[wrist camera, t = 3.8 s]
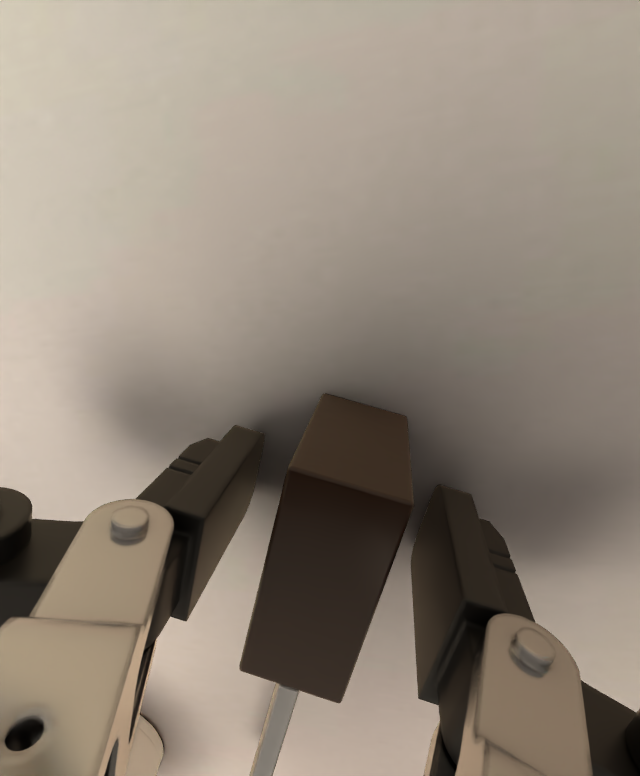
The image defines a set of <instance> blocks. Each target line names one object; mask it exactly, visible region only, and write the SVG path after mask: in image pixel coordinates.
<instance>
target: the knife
mask: <svg viewBox="0 0 640 776" xmlns="http://www.w3.org/2000/svg"><path fill="white" fill-rule="evenodd" d="M413 507H414V499H413V487H412V474H411V461H410V448H409V436H408V423H407V417H406V416H403V415H400V414H396V413H393V412H389V411H386V410H382V409H379V408H375V407H371V406H368V405H364V404H361V403H357V402H354V401H350V400H347V399H343V398H340V397H336V396H332V395H329V394H323V395H322V396H321V398H320V400H319V402H318V405H317V407H316V409H315V411H314V413H313V415H312V417H311V419H310V421H309V424H308V426H307V428H306V430H305V432H304V434H303V436H302V438H301V441H300V443H299V445H298V447H297V449H296V451H295V453H294V455H293V458H292V460H291V462H290V464H289V466H288V468H287V472H286V476H285V481H284V485H283V489H282V493H281V497H280V501H279V505H278V509H277V513H276V518H275V522H274V526H273V530H272V534H271V538H270V542H269V546H268V551H267V555H266V559H265V563H264V567H263V571H262V575H261V579H260V583H259V588H258V592H257V596H256V600H255V604H254V608H253V612H252V616H251V620H250V625H249V629H248V633H247V637H246V641H245V645H244V649H243V653H242V657H241V662H240V670H241V671H243V672H246V673H249V674H252V675H255V676H258V677H261V678H264V679H267V680H270V681H273V682H276V685H275V689H274V692H273V696H272V699H271V703H270V706H269V710H268V713H267V717H266V720H265V723H264V727H263V730H262V734H261V737H260V741H259V744H258V748H257V751H256V755H255V758H254V762H253V765H252V768H251V772H250V776H272V775H273V772H274V769H275V766H276V763H277V760H278V756H279V753H280V750H281V747H282V744H283V741H284V737H285V734H286V731H287V728H288V725H289V722H290V719H291V715H292V712H293V709H294V706H295V703H296V700H297V697H298V693H299V690H300V691H303V692H306V693H309V694H312V695H315V696H318V697H321V698H324V699H327V700H330V701H333V702H336V703H340V702H341V701H342V699H343V696H344V694H345V691H346V688H347V686H348V683H349V680H350V677H351V675H352V672H353V669H354V667H355V664H356V661H357V659H358V656H359V653H360V650H361V648H362V645H363V642H364V640H365V637H366V634H367V631H368V629H369V626H370V623H371V621H372V618H373V615H374V613H375V610H376V607H377V604H378V602H379V599H380V596H381V594H382V591H383V588H384V585H385V583H386V580H387V577H388V575H389V572H390V569H391V567H392V564H393V561H394V558H395V556H396V553H397V550H398V548H399V545H400V542H401V539H402V537H403V534H404V531H405V529H406V526H407V523H408V521H409V518H410V515H411V512H412V510H413Z"/></svg>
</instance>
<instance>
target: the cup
mask: <svg viewBox="0 0 640 776" xmlns="http://www.w3.org/2000/svg"><path fill="white" fill-rule="evenodd" d="M162 757H163V744H162V741H161V739H160V736H159V735H158V733H157V731H156V730H155V729H154V728H153V726H152V725H151V724H150V723H149V722H148V721H147V720H146V719H145V718H143V717H142V716H141V715H139V718H138V722H137V726H136V730H135V734H134V738H133V743H132V747H131V751H130V755H129V759H128V764H127V768H126V773H125V776H156V775H157V772H158V768H159V765H160V762H161V760H162Z"/></svg>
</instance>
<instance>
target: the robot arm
mask: <svg viewBox="0 0 640 776" xmlns="http://www.w3.org/2000/svg"><path fill="white" fill-rule="evenodd" d="M264 440H265V434H264V433H261V432H258V431H254V430H251V429H248V428H244V427H241V426H237V425H235V426H233V428H232V429H231V430H230V431H229V432H228V433H227V434H226V436H225V437H224V438H223V439H222V440H221V441H216V440H213V439H209V438H207V439H204V440H202V441H199V442H196V443H194V444H191V445H190V446H189V447H188V448H187V449H186V450H185V451H184V452H183V453H182V454H181V455H180V456H179V458H176V459H175V460H174V461H173V462H172V463H171V464H170V466H169V468H166V469H165V470H164V471H163V472H162V473H161V474H160V475H159V476H158V477H157V478H156V479H155V480H154V481H153V482H152V483H151V484H150V485H149V486H148V487H147V488H146V489H145V490H144V491H143V492H142V493H141V494H140V495H139V496H138V497H137V498H136V499H125V500H118V501H114V502H110V503H107V504H104V505H102V506H100V507H98V508H97V509H95V510H94V511H92V512H91V513H90V514H89V515H88V516H87V518H86V519H85V520H84V521H82V522H71V521H56V520H40V519H32V504H31V501H30V500H29V498H28V497H27V496H25V495H24V494H22V493H21V492H19V491H16V490H13V489H8V488H2V487H0V776H125V773H126V768H127V764H128V759H129V755H130V751H131V747H132V743H133V738H134V734H135V730H136V726H137V722H138V718H139V714H140V710H141V706H142V702H143V698H144V694H145V690H146V685H147V681H148V677H149V673H150V669H151V665H152V661H153V657H154V653H155V649H156V642H157V637H158V636H159V634H160V633H161V631H162V629H163V628H164V626H165V624H166V623H167V621H168V619H169V618H170V616H171V617H174V618H177V619H180V620H183V621H187V619H188V618H189V616H190V614H191V612H192V610H193V608H194V607H195V605H196V603H197V601H198V599H199V597H200V596H201V594H202V592H203V590H204V588H205V587H206V585H207V583H208V581H209V579H210V577H211V576H212V574H213V572H214V570H215V568H216V566H217V565H218V563H219V561H220V559H221V557H222V555H223V554H224V552H225V550H226V548H227V546H228V544H229V543H230V541H231V539H232V537H233V535H234V534H235V532H236V530H237V528H238V526H239V524H240V523H241V521H242V519H243V517H244V515H245V513H246V511H247V509H248V506H249V504H250V501H251V498H252V495H253V491H254V487H255V482H256V478H257V473H258V469H259V464H260V459H261V455H262V450H263V446H264ZM515 571H516V570H515V567H514V564H513V562H512V559H510V554H509V551H508V548H507V546H506V543H505V540H504V538H503V537H502V536H501V535H500V534H499V532H498V531H497V530H496V529H495V528H494V527H493V525H492V524H491V523H490V522H489V521H486V520H482V519H479V517H478V514H477V511H476V508H475V504H474V501H473V498H472V495H471V494H469V493H466V492H462V491H459V490H455V489H452V488H449V487H445V486H442V485H438V486H437V487H436V488H435V490H434V492H433V494H432V497H431V500H430V502H429V505H428V507H427V510H426V513H425V515H424V518H423V520H422V523H421V526H420V528H419V531H418V534H417V536H416V539H415V542H414V546H413V551H412V557H411V575H412V593H413V611H414V629H415V647H416V664H417V682H418V699H421V700H424V701H427V702H430V703H433V704H436V705H439V714H440V721H439V723H438V725H437V727H436V729H435V731H434V733H433V736H432V739H431V743H430V748H429V752H428V757H427V762H426V767H425V771H424V776H640V709H639V711H638V712H637V713H636V712H634V711H633V710H631V709H629V708H627V707H626V706H624V705H622V704H620V703H619V702H617V701H615V700H613V699H612V698H610V697H608V696H606V695H605V694H603V693H601V692H599V691H598V690H596V689H594V688H592V687H591V686H589V685H588V684H586V683H584V682H583V681H582V680H581V678H580V673H579V669H578V667H577V665H576V662H575V661H574V659H573V657H572V656H571V654H570V653H569V651H568V650H567V649H566V648H565V646H564V645H563V644H562V643H561V642H560V641H559V640H558V639H557V638H556V637H555V636H554V635H552V634H551V633H550V632H549V631H547V630H546V629H545V628H543V627H542V626H540V625H539V624H537V623H535V620H534V618H533V615H532V612H531V610H530V607H529V604H528V602H527V599H526V596H525V594H524V591H523V588H522V586H521V583H520V580H519V578H518V575H517V574H515Z"/></svg>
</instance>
